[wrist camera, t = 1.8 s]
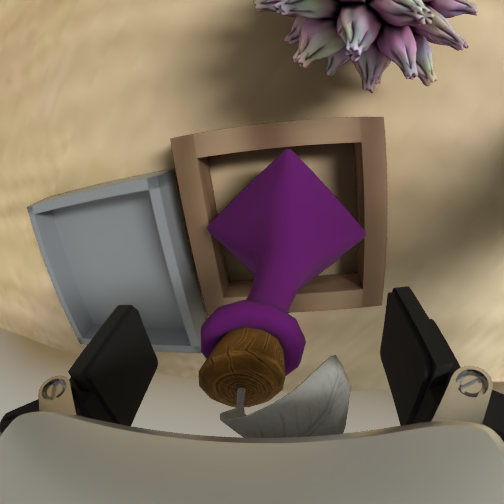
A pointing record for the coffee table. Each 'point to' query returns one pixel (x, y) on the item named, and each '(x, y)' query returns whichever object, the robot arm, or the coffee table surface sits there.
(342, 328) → the coffee table surface
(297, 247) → the perfume bottle
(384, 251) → the square wooden frame
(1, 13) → the coffee table surface
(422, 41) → the flower
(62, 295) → the tray
